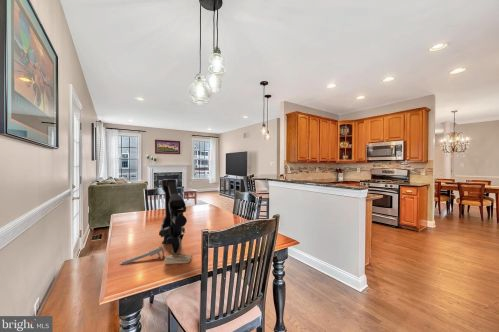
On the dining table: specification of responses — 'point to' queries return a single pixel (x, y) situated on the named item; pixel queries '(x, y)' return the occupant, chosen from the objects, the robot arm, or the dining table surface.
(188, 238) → the dining table surface
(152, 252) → the caliper
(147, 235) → the dining table surface
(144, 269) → the dining table surface
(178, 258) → the board
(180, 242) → the brown block with knob
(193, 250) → the dining table surface
